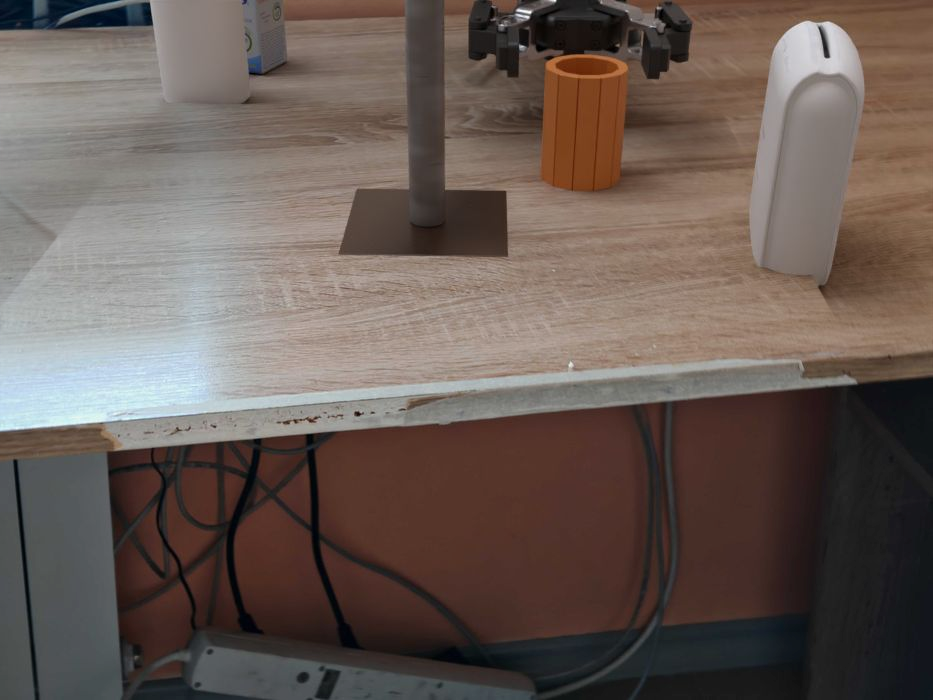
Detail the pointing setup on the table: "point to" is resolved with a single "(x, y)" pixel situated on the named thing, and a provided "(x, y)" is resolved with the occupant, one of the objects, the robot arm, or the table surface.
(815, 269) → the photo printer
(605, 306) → the table surface
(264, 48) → the medicine box
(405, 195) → the post stand
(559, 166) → the ring sleeve
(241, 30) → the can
